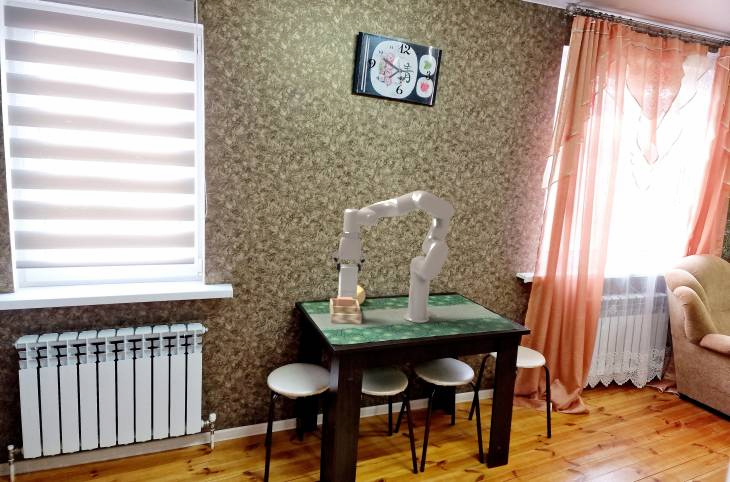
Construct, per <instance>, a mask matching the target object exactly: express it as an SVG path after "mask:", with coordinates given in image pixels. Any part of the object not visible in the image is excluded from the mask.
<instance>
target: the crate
mask: <svg viewBox="0 0 730 482" xmlns="http://www.w3.org/2000/svg"><path fill="white" fill-rule="evenodd" d="M329 298H330V297H329ZM329 314H330V323H331V324H334V325H337V324H355V325H356V324H357V325H360V324H362V318H363V314H362V312H361V307H360V305H359V303H358V300H357V299H352V307H345V306H337V298H330V299H329Z"/></svg>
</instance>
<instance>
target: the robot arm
mask: <svg viewBox="0 0 730 482" xmlns="http://www.w3.org/2000/svg"><path fill="white" fill-rule="evenodd" d="M416 210H421V211H423V212H426V213H427V214H430V217H431V225H430V227H429V229H428V232H427V234H426V236H425V238H424V240H423V243H422V245H421V250H422V251H423V253H424V254H425V256H424V255H417V256H415V257H414V258H412V260H411V262H410V265H409V271H410V279H409V280H410V281H409V293H408V294H409V295H408V303H407V312H406V313H404V315H403V318H404V319H405V320H406V321H409V322H412V323H421V324H423V323H427V322H429V321H430V317H434V318H435V317H437V312H433V311H429V310H428V305H429V304H428V303H429V294H430V284H431V282H430V281H432V280H434V279H436V278H437V276H438V275H439V273H440V271H441V269H442V267H443V266H444V263H445V261H446V259H447V257H448V254H449V246H448V244H447V242H446V241H445V239H446V236H447V234H448V232H449V229H450V220H449V219H452V217H453V216H454V214H455V209H454V206H453V204H451V203H450V202H448V201H446V200H444V199H442V198H440V197H438V196H436V195H434V194H432V193H431V192H428V191H424V190H413V191H411V192H409V193H406V194H404V195H401V196H397V197H395V198H394V197H393V198H391V199H387V200H383V201H379V202H375V203H373V204H370V205H367V206H364V207H362V208H360V209H357V208H346V209H345V210H344V213H343V214H344V215H343V230H342V237H340V239H339V245H338V247H339V248H338V250H336V251H334V252H332V253H331V254H330V255H331V257H332V259H333V261H334V262H335V263H336V271H337V272H338V273H339V272H340V265H341V262H342V260H346V261H356V262H357V264H356V265H357V267H358V274H360V272H361V271H362V265H363V263H365V262H366V260H367V259H368V257H369V256H368V255H367V253H365V252H363V251H362V241H361V238H360V237H363V233H362V232H361V233H360V230H361V226H365V227H373V226H375V225H376V224H377V223H379V219H380V218H381V219H382V218H386V217H400V216H402V215H406V214H408V213H410V212H413V211H416ZM336 255H338V258H337V257H336ZM361 256H363V258H361Z"/></svg>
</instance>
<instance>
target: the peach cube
mask: <svg viewBox="0 0 730 482" xmlns="http://www.w3.org/2000/svg"><path fill="white" fill-rule="evenodd" d="M336 299H337V306H345V307H352V297H340V296H339V294H337V298H336Z"/></svg>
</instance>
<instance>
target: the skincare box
mask: <svg viewBox="0 0 730 482" xmlns="http://www.w3.org/2000/svg"><path fill="white" fill-rule="evenodd" d="M357 265H358V264H353V263H352V264H351V263H350V264H340V272H338V290H337V291H338V294H337V295H339V296H340V297H357V285H358V280H359V279H358V278H359V273H358V267H357Z"/></svg>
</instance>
